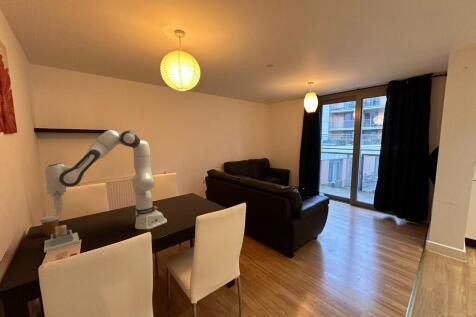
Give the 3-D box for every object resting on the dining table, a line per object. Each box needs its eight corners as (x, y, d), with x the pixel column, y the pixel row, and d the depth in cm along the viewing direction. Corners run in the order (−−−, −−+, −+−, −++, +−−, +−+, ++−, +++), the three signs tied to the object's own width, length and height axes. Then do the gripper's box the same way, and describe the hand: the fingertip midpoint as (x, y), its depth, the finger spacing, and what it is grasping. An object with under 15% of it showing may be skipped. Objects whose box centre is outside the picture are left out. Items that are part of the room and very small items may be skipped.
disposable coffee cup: (55, 229, 144) (54, 213, 143) (63, 231, 141) (62, 215, 139) (38, 235, 135) (37, 218, 134) (47, 238, 132) (45, 220, 131)
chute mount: (77, 234, 136) (76, 226, 136) (79, 242, 125) (78, 234, 125) (45, 243, 125) (44, 234, 125) (44, 252, 114) (43, 243, 114)
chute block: (67, 237, 129) (65, 224, 128) (67, 240, 125) (66, 226, 124) (56, 240, 125) (55, 226, 124) (56, 243, 122) (55, 229, 121)
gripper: (64, 192, 117) (66, 214, 118) (63, 186, 131) (65, 206, 133) (49, 194, 112) (52, 217, 114) (49, 188, 127) (52, 208, 129)
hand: (59, 211), depth 123 cm, fingers open, 8 cm apart
